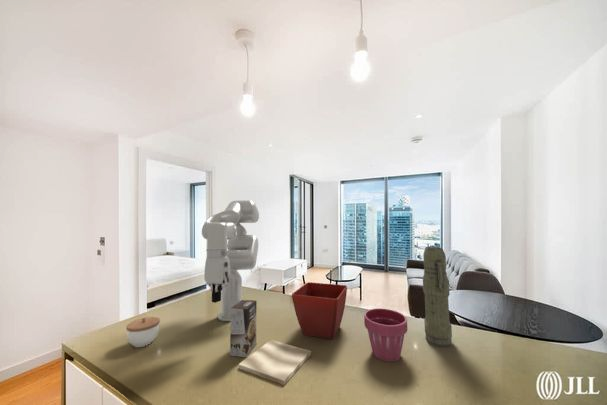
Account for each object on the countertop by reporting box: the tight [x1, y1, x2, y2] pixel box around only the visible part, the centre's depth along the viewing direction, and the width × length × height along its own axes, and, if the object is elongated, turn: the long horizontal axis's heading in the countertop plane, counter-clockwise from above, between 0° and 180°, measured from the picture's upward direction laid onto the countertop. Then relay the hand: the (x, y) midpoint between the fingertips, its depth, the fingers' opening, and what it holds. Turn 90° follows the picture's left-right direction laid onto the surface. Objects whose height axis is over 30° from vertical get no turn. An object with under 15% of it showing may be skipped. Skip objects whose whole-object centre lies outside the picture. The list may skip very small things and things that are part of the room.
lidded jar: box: [125, 316, 161, 348], centre depth 92 cm, size 11×11×9 cm
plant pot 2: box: [363, 307, 408, 362], centre depth 82 cm, size 14×14×13 cm
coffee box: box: [229, 299, 257, 358], centre depth 87 cm, size 9×6×16 cm
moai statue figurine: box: [422, 246, 453, 348], centre depth 92 cm, size 9×12×35 cm
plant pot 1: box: [291, 281, 348, 340], centre depth 101 cm, size 19×19×17 cm
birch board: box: [238, 339, 312, 386], centre depth 79 cm, size 17×17×1 cm
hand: (216, 301), depth 93 cm, fingers closed
